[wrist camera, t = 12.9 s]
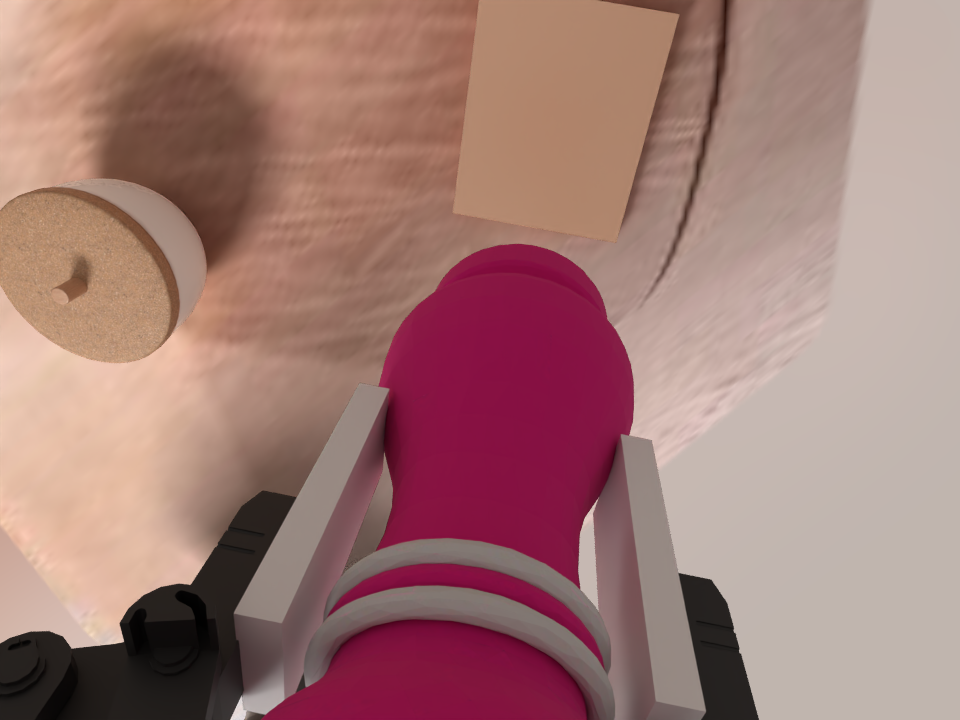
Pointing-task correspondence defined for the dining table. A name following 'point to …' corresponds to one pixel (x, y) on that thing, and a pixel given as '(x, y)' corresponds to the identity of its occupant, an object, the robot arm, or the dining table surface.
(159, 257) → the lidded jar
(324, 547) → the robot arm
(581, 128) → the tile
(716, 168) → the dining table surface
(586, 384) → the pepper mill
